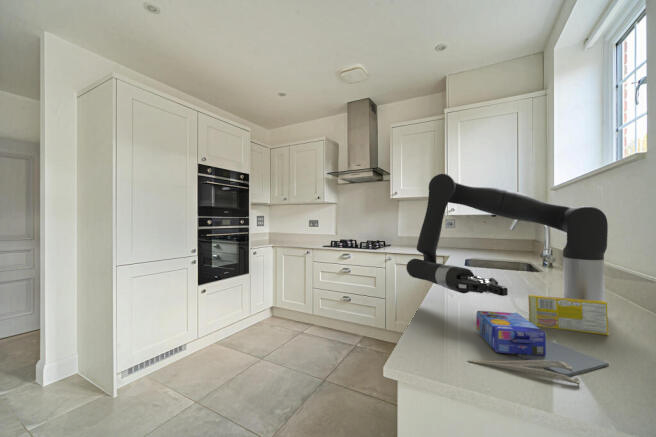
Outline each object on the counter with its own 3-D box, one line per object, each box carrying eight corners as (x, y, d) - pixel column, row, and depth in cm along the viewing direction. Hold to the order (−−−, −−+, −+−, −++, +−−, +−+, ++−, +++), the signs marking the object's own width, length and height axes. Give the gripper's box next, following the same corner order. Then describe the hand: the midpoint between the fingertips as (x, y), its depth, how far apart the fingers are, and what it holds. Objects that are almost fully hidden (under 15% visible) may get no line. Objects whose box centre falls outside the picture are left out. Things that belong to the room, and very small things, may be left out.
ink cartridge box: (517, 311, 68) (554, 337, 54) (518, 332, 68) (554, 364, 54) (475, 309, 70) (500, 333, 56) (475, 330, 70) (500, 360, 56)
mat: (531, 335, 68) (531, 333, 68) (608, 365, 54) (608, 363, 54) (492, 342, 64) (492, 340, 64) (564, 377, 50) (564, 374, 50)
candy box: (604, 332, 70) (604, 300, 70) (609, 336, 68) (608, 303, 68) (528, 323, 76) (528, 293, 76) (530, 325, 74) (530, 295, 74)
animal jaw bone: (569, 367, 51) (569, 358, 51) (581, 388, 47) (581, 378, 46) (467, 358, 58) (466, 350, 58) (469, 375, 54) (468, 367, 53)
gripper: (436, 267, 83) (485, 278, 66) (470, 265, 87) (524, 275, 70) (436, 291, 83) (485, 309, 66) (470, 288, 87) (524, 304, 70)
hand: (505, 291), depth 68 cm, fingers closed
